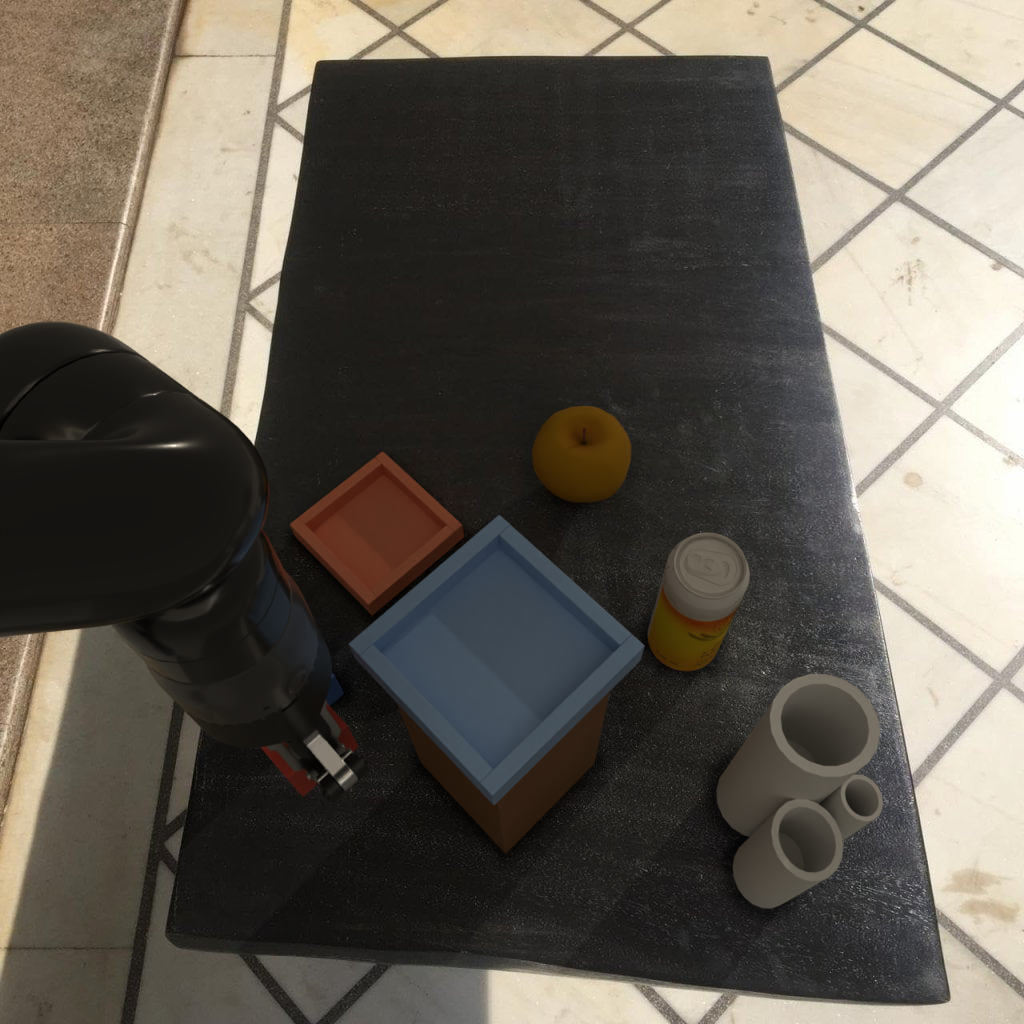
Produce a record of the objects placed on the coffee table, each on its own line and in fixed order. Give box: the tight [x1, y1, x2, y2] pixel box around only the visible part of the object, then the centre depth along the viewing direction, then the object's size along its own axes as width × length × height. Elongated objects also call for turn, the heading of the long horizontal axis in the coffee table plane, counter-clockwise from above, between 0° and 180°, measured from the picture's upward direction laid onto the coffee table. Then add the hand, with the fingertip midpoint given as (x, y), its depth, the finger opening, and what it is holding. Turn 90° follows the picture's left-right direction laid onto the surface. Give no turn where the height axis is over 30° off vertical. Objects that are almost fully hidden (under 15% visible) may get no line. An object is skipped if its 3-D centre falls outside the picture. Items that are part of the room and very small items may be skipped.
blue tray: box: [348, 514, 645, 854], centre depth 67 cm, size 12×12×26 cm
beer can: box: [647, 532, 751, 672], centre depth 77 cm, size 6×6×15 cm
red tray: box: [289, 451, 465, 616], centre depth 87 cm, size 11×11×2 cm
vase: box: [715, 673, 884, 909], centre depth 67 cm, size 11×7×20 cm, turn 8°
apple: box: [531, 405, 632, 504], centre depth 87 cm, size 9×9×9 cm
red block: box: [260, 704, 359, 798], centre depth 60 cm, size 4×4×4 cm
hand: (308, 745), depth 61 cm, fingers closed on red block, 4 cm apart
